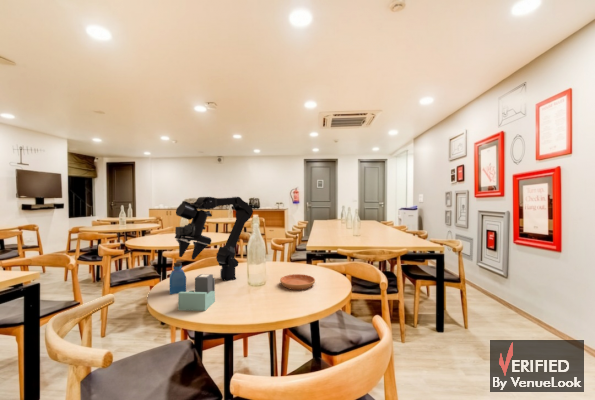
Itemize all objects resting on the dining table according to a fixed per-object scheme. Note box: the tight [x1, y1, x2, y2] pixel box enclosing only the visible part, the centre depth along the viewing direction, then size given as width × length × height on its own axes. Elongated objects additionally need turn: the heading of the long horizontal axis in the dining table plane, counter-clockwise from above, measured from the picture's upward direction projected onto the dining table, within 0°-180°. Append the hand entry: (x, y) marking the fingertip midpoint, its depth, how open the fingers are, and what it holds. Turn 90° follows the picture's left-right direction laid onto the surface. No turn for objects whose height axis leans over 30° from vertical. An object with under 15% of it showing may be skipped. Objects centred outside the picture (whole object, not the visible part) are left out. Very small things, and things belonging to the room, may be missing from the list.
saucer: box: [279, 273, 316, 291], centre depth 119 cm, size 16×16×3 cm
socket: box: [177, 290, 216, 312], centre depth 95 cm, size 9×10×6 cm
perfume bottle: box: [169, 261, 187, 295], centre depth 111 cm, size 6×6×12 cm
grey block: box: [194, 273, 216, 294], centre depth 101 cm, size 6×6×9 cm
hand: (186, 258), depth 110 cm, fingers open, 9 cm apart
